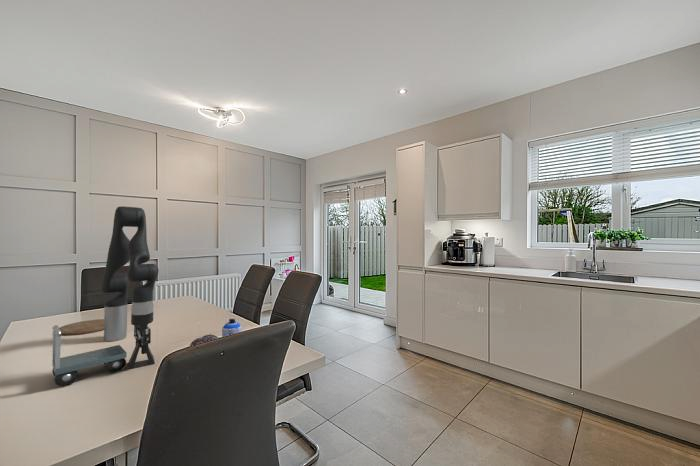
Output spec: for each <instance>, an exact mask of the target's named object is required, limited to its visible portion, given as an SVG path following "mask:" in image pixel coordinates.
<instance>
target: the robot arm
mask: <svg viewBox="0 0 700 466" xmlns="http://www.w3.org/2000/svg"><path fill="white" fill-rule="evenodd" d="M146 219H147V218H146V213H145V210H144V209H143V208H141V207H135V206H117V207H116V209H115V212H114V217H113V225H112V234H111V239H110V243H109V247H108V252H107V256H106V263H105V268H104V271H103V275H102V278H101V281H100V289H101V292H103V294H112V293H118V294H116V295H115V296H113V297H111V298H108V299H106V300H104V316H103V317H104V318H103V319H104V330H103V341H104V342H115V341H120V340H123V339H125V338H127V336H128V335H127V333H128V298H129V284H130V282H133V283H134V282H135V283H136V282H145V283H144V284H142V285H139V286H137V287H134V288H133V289H132V292H131V294H132V297H131V300H132V301H131V310H130V311H131V312H130V319H131V320H130V325H131V326H134V327H133V338H134V339H135V345H136V344H137V337H138V336H139V340H141V347H140V350H141V354H142V355H144V354H145V355H147V354H146V353H148V346H149V345H150V344H151V342H152V340H151V336H152V335H151V334H152V333H151V332H152V331H151V328H150V327H149V324H151V323H153V321H154V289H155V288H154V287H155V284H156V281H157V279H158V276H159V272H160V271H159V267H158V265H157V264H155V263H147V262H149V261H150V258H151V255H150V251H149V250H150V249H149V245H148V241H147V239H148V237H147V234H148V233H147V220H146ZM125 227H128V228H131V227H132V228H137V230H136V232H135V234H134V235H133V237H132V238H130V239H129V238H128V236H127V235H126V234H125V232H124V229H123V228H125ZM128 263H129V266H128V269H127V272H126V273H117V272H118V271H119V270H120V269H122V268H123V267H124V266H125V265H127V264H128ZM145 339H146V340H147V341H145Z"/></svg>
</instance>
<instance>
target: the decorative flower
mask: <svg viewBox="0 0 700 466" xmlns="http://www.w3.org/2000/svg"><path fill="white" fill-rule="evenodd" d="M216 338H218V339H219V337H218V336H216V335H214V334H205V335H202V336H201V337H197V338H195V339H194V340H192V341H191V342H190V344H189V346H192V345H196V344H199V343H202V342H206V341H209V340H212V339H216Z"/></svg>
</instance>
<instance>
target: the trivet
mask: <svg viewBox="0 0 700 466" xmlns="http://www.w3.org/2000/svg"><path fill="white" fill-rule="evenodd" d="M59 329H60V331H61V333H62V334H61V336H64V337H65V336H66V337H67V336H68V337H70V336H81V335H82V336H83V335H89V334H93V333H94V334H95V333H99V332H102V331H103V332H104V318H103V319H102V318H100V319H99V318H98V319H89V320H84V321H83V320H82V321H77V322H72V323H69V324H65V325H62V326H60V327H59Z"/></svg>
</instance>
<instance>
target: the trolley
mask: <svg viewBox="0 0 700 466" xmlns="http://www.w3.org/2000/svg"><path fill="white" fill-rule="evenodd" d="M59 328H60V327H59V325H55V324H54V325H53V326H52V360H51V361H52V363H51V366H52V370H51V372H52V375H53V377H54V384H55V385H56V386H58V387H61V388H62V387H63V388H64V387H68V386H70V385H73V384H74V383H75V382H76V381H77V379H78V378H79V372H78V370H79V371H80V370H82V369H87V368H90V367H93V366H94V367H95V366H99V365H102V364H103V365H104V366H105V369H106V370H107V371H108V372H109V373H112V374H114V373H118V372H121V371H122V370H124V368H125V367H126V364H127V361H126V359H127V351H125V349H124V348H123V347H122V346H121V344H118V345H113V346H109V347H104V348H100V349H95V350H91V351H90V350H89V351H86V352H81V353H76V354H72V355H67V356H63V357H61V342H62V341H61V338H62V335H61V334H62V333H61V331H60V329H59Z"/></svg>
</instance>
